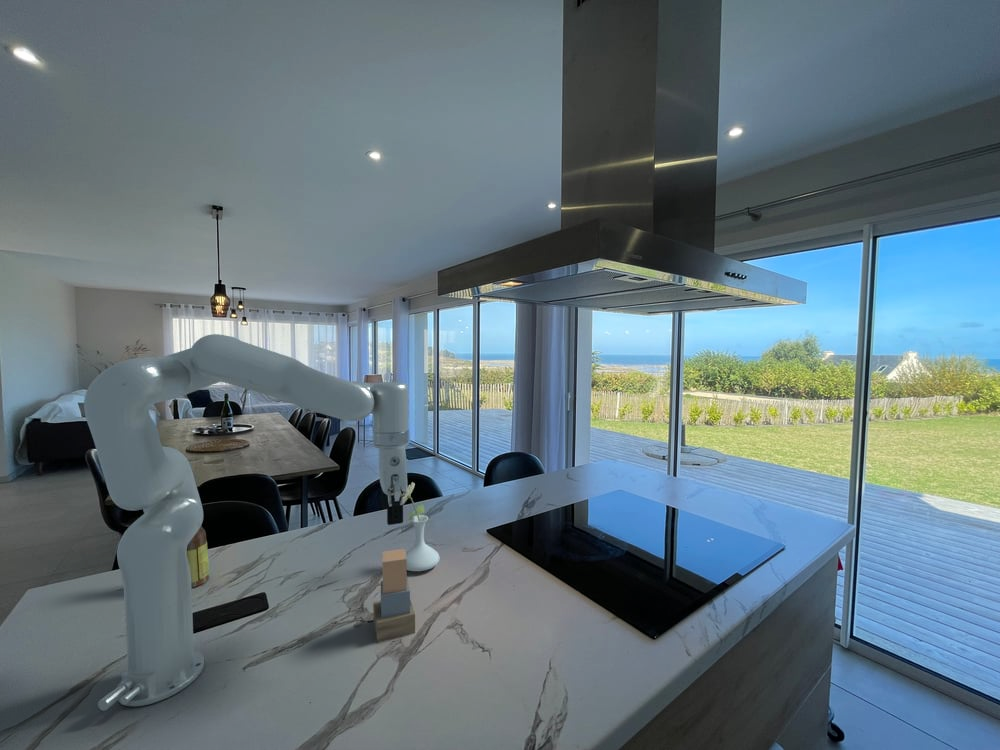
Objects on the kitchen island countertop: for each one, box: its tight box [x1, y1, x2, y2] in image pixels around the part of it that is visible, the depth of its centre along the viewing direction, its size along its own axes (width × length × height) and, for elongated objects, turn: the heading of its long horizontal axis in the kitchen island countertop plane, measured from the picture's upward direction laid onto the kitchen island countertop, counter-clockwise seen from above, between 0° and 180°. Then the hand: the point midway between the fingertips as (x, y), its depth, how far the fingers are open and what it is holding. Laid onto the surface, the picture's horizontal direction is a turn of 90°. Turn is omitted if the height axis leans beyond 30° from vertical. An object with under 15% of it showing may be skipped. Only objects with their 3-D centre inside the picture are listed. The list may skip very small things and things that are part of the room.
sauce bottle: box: [187, 525, 210, 588], centre depth 109 cm, size 6×6×20 cm
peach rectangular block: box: [381, 548, 408, 594], centre depth 92 cm, size 5×5×7 cm
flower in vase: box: [402, 481, 441, 572], centre depth 118 cm, size 13×11×25 cm
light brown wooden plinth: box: [372, 599, 416, 643], centre depth 92 cm, size 8×8×4 cm
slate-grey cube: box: [380, 576, 411, 618], centre depth 92 cm, size 6×6×5 cm
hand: (391, 515), depth 91 cm, fingers open, 9 cm apart
